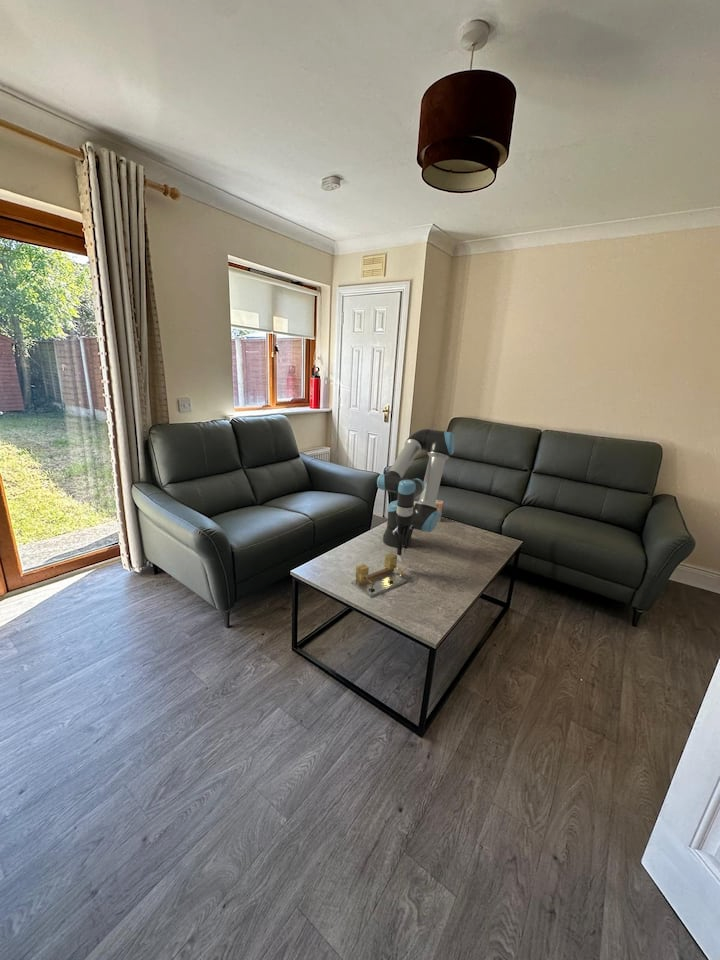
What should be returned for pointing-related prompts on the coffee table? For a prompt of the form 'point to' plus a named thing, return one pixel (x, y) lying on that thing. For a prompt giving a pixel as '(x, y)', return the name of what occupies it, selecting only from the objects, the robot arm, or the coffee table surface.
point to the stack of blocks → (439, 508)
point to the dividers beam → (364, 577)
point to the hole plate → (380, 584)
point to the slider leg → (391, 562)
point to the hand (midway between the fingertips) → (400, 560)
